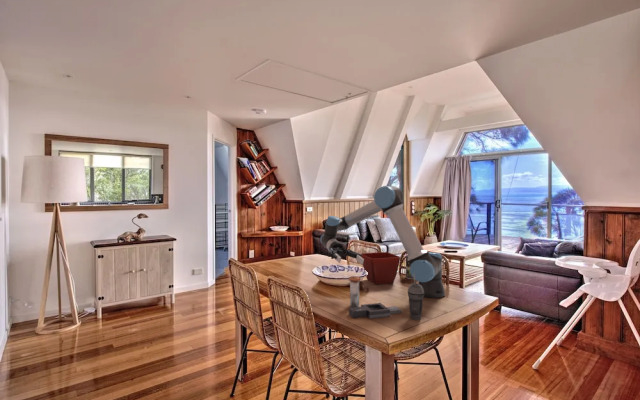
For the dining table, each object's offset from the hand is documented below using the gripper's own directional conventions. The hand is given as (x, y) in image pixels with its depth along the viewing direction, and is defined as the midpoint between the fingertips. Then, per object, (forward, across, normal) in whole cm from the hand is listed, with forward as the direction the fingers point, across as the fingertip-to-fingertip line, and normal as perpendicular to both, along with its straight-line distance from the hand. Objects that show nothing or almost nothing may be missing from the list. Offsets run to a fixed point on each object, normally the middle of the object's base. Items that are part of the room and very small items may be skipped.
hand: (351, 261), depth 175 cm
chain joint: (+26, -3, -16) cm, 30 cm away
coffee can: (-20, -61, -16) cm, 67 cm away
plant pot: (-21, -36, -20) cm, 46 cm away
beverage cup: (+37, -17, -12) cm, 42 cm away
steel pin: (+13, 0, -18) cm, 23 cm away
